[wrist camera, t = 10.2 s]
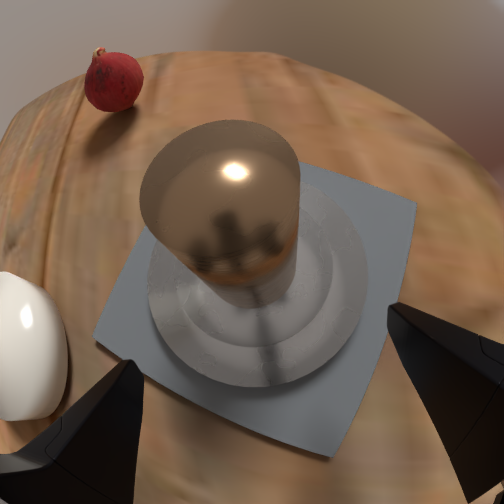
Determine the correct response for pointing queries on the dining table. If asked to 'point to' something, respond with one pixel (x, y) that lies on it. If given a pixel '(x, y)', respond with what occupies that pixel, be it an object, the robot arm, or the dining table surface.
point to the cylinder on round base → (248, 257)
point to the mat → (304, 388)
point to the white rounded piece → (30, 351)
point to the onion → (113, 81)
